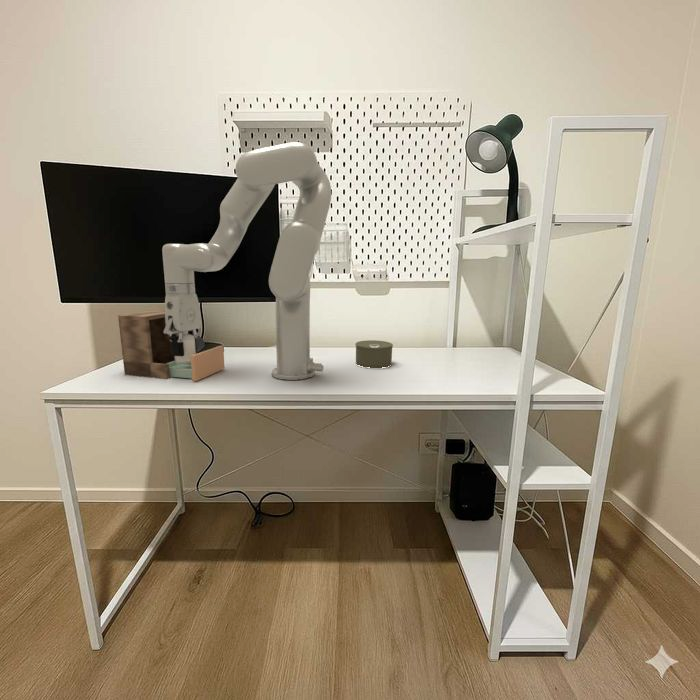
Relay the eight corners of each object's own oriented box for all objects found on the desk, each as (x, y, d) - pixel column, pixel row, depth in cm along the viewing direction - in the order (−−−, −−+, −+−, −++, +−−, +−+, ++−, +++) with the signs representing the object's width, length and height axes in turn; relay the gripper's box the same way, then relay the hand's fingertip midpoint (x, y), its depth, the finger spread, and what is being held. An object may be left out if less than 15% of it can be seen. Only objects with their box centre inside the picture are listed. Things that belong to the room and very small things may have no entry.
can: (390, 360, 133) (391, 340, 131) (393, 369, 121) (394, 348, 120) (355, 359, 133) (355, 340, 131) (354, 369, 121) (355, 347, 120)
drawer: (224, 368, 118) (223, 345, 116) (195, 381, 105) (193, 356, 103) (184, 364, 121) (182, 342, 120) (151, 377, 108) (149, 352, 107)
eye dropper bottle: (192, 364, 110) (189, 322, 108) (172, 364, 111) (169, 322, 108) (198, 361, 115) (195, 320, 112) (179, 360, 115) (176, 320, 112)
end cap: (195, 360, 129) (194, 340, 127) (173, 360, 128) (172, 340, 127) (205, 353, 138) (204, 335, 137) (185, 353, 138) (183, 335, 137)
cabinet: (196, 367, 120) (192, 312, 116) (167, 379, 108) (162, 317, 104) (157, 364, 123) (152, 310, 120) (124, 374, 111) (118, 315, 107)
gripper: (171, 292, 99) (176, 361, 103) (210, 288, 115) (214, 348, 119) (146, 291, 101) (152, 359, 105) (188, 287, 117) (192, 347, 121)
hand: (185, 353), depth 112 cm, fingers closed on eye dropper bottle, 5 cm apart
